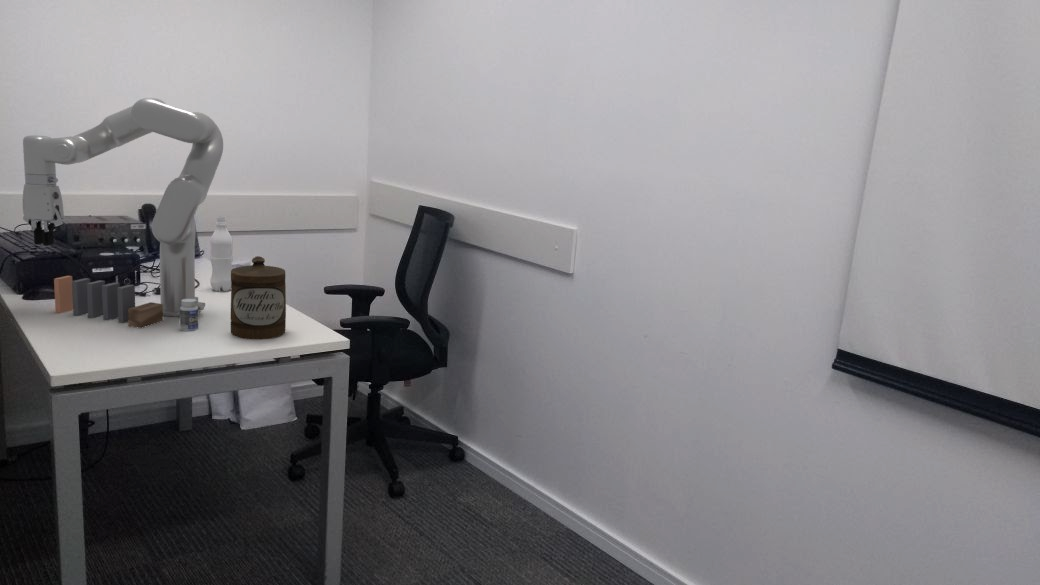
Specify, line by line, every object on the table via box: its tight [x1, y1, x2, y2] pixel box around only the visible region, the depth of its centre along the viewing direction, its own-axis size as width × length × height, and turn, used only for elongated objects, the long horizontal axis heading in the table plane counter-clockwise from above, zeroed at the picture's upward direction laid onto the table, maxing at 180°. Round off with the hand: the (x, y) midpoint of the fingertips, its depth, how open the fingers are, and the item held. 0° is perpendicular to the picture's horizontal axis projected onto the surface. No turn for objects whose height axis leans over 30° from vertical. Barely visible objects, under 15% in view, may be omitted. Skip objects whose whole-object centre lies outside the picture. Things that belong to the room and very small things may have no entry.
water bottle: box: [209, 216, 234, 292], centre depth 263 cm, size 7×7×25 cm
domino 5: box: [117, 284, 136, 324], centre depth 220 cm, size 2×5×10 cm, turn 167°
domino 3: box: [87, 279, 106, 319], centre depth 223 cm, size 2×5×10 cm, turn 167°
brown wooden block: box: [128, 302, 164, 329], centre depth 220 cm, size 4×9×5 cm, turn 167°
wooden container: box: [230, 255, 287, 341], centre depth 218 cm, size 15×15×22 cm
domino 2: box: [72, 277, 91, 317], centre depth 224 cm, size 2×5×10 cm, turn 167°
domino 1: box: [53, 275, 73, 314], centre depth 225 cm, size 2×5×10 cm, turn 167°
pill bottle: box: [179, 299, 199, 332], centre depth 217 cm, size 5×5×8 cm
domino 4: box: [102, 282, 121, 322], centre depth 221 cm, size 2×5×10 cm, turn 167°
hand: (44, 243), depth 223 cm, fingers closed
